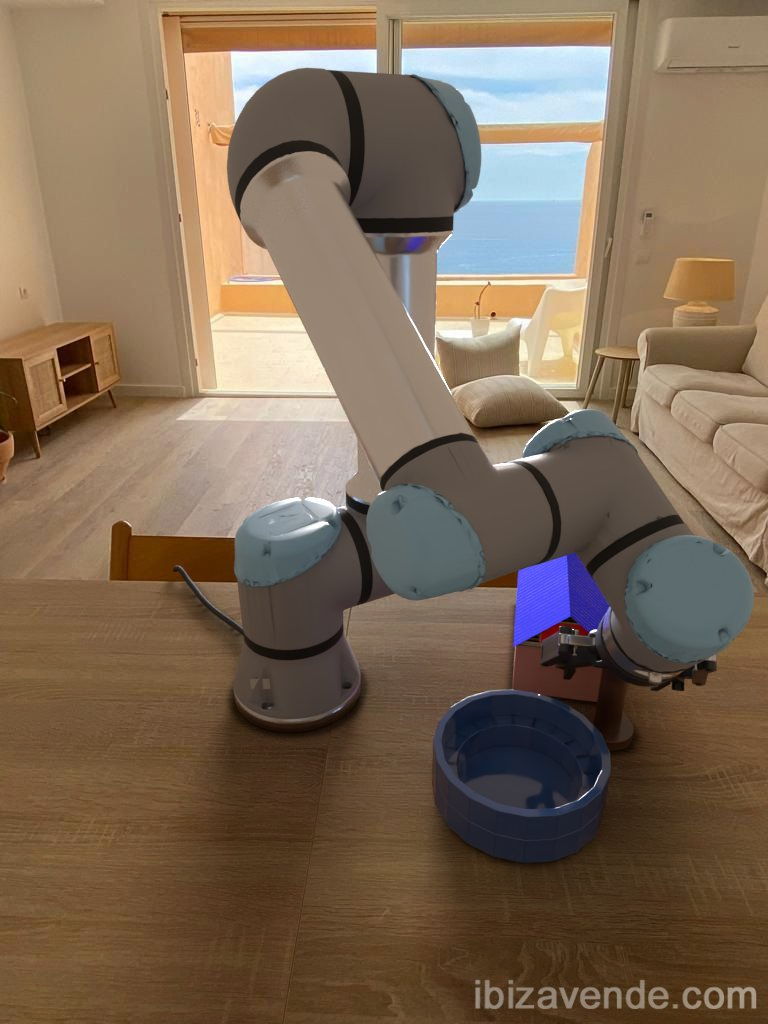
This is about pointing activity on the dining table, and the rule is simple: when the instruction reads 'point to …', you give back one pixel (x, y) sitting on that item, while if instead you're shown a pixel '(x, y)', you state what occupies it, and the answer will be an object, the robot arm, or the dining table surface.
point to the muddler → (611, 712)
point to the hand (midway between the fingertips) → (610, 672)
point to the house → (555, 625)
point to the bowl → (520, 775)
